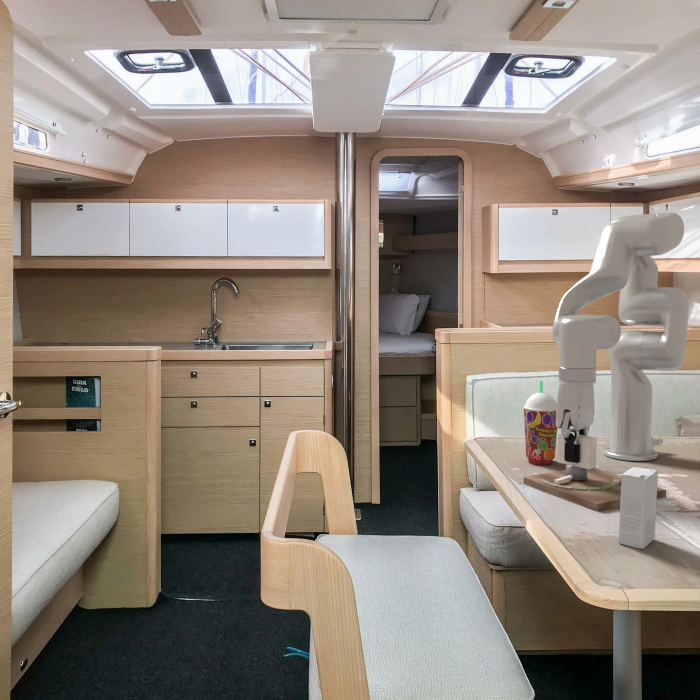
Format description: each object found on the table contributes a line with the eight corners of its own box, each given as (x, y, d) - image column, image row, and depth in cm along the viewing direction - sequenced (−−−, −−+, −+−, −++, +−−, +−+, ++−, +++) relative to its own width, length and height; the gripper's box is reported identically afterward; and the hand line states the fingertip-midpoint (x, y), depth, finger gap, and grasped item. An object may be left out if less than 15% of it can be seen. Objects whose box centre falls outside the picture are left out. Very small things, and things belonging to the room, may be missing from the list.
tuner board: (587, 472, 156) (588, 464, 156) (666, 496, 137) (666, 488, 137) (523, 483, 148) (523, 475, 148) (597, 511, 129) (597, 502, 129)
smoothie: (539, 468, 160) (540, 384, 159) (515, 460, 168) (516, 380, 166) (565, 463, 164) (566, 382, 162) (541, 456, 172) (542, 378, 170)
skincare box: (629, 533, 117) (631, 465, 116) (656, 539, 114) (658, 469, 113) (617, 544, 113) (619, 473, 111) (645, 551, 110) (647, 477, 109)
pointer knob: (566, 472, 150) (567, 431, 149) (598, 479, 144) (598, 436, 143) (540, 480, 144) (541, 437, 143) (572, 488, 138) (572, 443, 137)
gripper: (575, 370, 153) (574, 450, 154) (543, 378, 140) (542, 465, 142) (609, 372, 148) (607, 455, 149) (579, 381, 135) (577, 471, 137)
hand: (575, 459), depth 146 cm, fingers closed on pointer knob, 3 cm apart
